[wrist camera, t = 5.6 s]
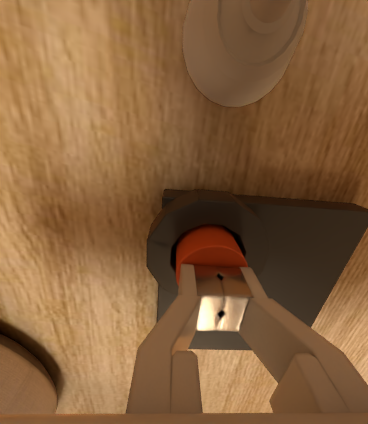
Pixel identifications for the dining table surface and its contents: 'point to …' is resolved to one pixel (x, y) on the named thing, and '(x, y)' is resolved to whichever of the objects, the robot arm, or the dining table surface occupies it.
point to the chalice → (240, 46)
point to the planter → (24, 382)
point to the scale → (261, 248)
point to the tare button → (208, 248)
